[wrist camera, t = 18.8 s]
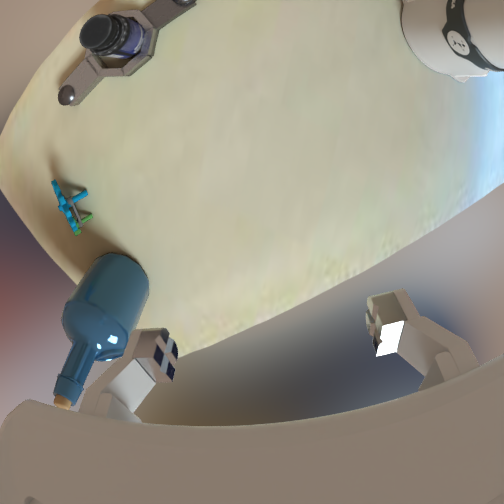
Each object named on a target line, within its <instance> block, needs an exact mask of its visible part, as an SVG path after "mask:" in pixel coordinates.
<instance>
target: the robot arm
mask: <svg viewBox="0 0 504 504" xmlns="http://www.w3.org/2000/svg"><path fill="white" fill-rule="evenodd" d="M402 1H403V4H404V7H403V12H402V28H403V32H404V35H405V38H406V40H407V42H408V44H409V46H410V47H411V49H412V51H413V52H414V53H415V55H416V56H417V57H418V58H419V59H420V60H421V61H422V62H423V63H424V64H425V65H426V66H428V67H429V68H430V69H432V70H434V71H436V72H439V73H442V74H447V75H450V76H451V77H453V78H454V79H455V80H457V81H458V82H466V81H467V80H468V78H469V77H470V76H480V77H484V76H487V73H488V72H489V71H495V72H498V71H499V72H500V71H504V0H402ZM367 305H368V308H369V309H368V310H367V311H366V325H367V329H368V332H369V334H370V335H371V336H373V346H374V348H375V351H376V354H377V356H378V355H382V354H387V353H391V352H395V351H397V353H398V354H399V355H400V356H402V357H403V358H404V359H405V360H406V361H408V362H409V363H410V364H411V365H412V366H413V367H414V368H416V369H417V370H418V371H419V372H420V373H422V374H423V375H424V376H425V379H424V380H423V382H422V384H421V386H420V388H419V389H418V391H419V392H416V393H413V394H410V395H408V396H404V397H401V398H398V399H395V400H391V401H388V402H384V403H381V404H377V405H373V406H369V407H365V408H361V409H357V410H353V411H348V412H344V413H339V414H334V415H328V416H323V417H317V418H311V419H305V420H297V421H289V422H281V423H272V424H260V425H245V426H211V427H210V426H174V425H160V424H149V423H141V420H140V418H138V417H137V416H136V415H135V414H133V412H134V411H135V410H136V408H137V407H138V406H139V405H140V403H141V402H142V401H143V399H144V398H145V397H146V395H147V394H148V393H149V391H150V390H151V389H152V388H153V386H154V385H155V382H173V378H174V373H175V368H174V366H173V365H174V363H175V362H176V361H177V359H178V348H177V345H176V343H175V341H174V340H173V339H171V338H169V334H170V333H169V332H168V330H167V329H166V328H150V329H134V330H133V331H132V332H131V335H130V338H129V340H128V343H127V346H126V348H125V351H124V354H123V357H122V358H121V359H119V360H117V361H116V362H115V363H114V364H113V365H112V366H111V367H110V368H109V369H107V370H106V371H105V372H104V373H103V374H102V375H101V376H100V377H99V378H98V379H97V380H96V381H95V382H94V383H93V384H92V385H91V386H90V387H88V389H86V392H85V394H84V397H83V400H82V403H81V406H80V409H79V412H74V411H70V410H66V409H62V408H58V407H55V406H51V405H47V404H44V403H41V402H37V401H34V400H31V399H27V400H25V401H24V402H22V403H21V404H19V405H18V406H17V407H16V408H15V409H14V410H13V411H12V412H10V413H9V414H8V415H7V417H6V418H5V420H4V422H3V424H2V426H1V428H0V504H504V354H502V355H500V356H499V357H497V358H495V359H493V360H491V361H489V362H487V363H485V364H483V365H481V366H479V364H478V362H477V360H476V358H475V356H474V354H473V352H472V350H471V348H470V346H469V344H468V343H467V341H465V340H463V339H461V338H460V337H458V336H456V335H455V334H453V333H452V332H450V331H448V330H446V329H445V328H443V327H441V326H439V325H438V324H436V323H435V322H433V321H431V320H429V319H428V318H426V317H424V316H422V317H420V315H419V313H418V312H417V310H416V308H415V306H414V304H413V303H412V301H411V299H410V297H409V296H408V294H407V292H406V291H405V289H403V288H402V289H399V290H394V291H390V292H386V293H382V294H378V295H374V296H369V297H368V299H367Z"/></svg>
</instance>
